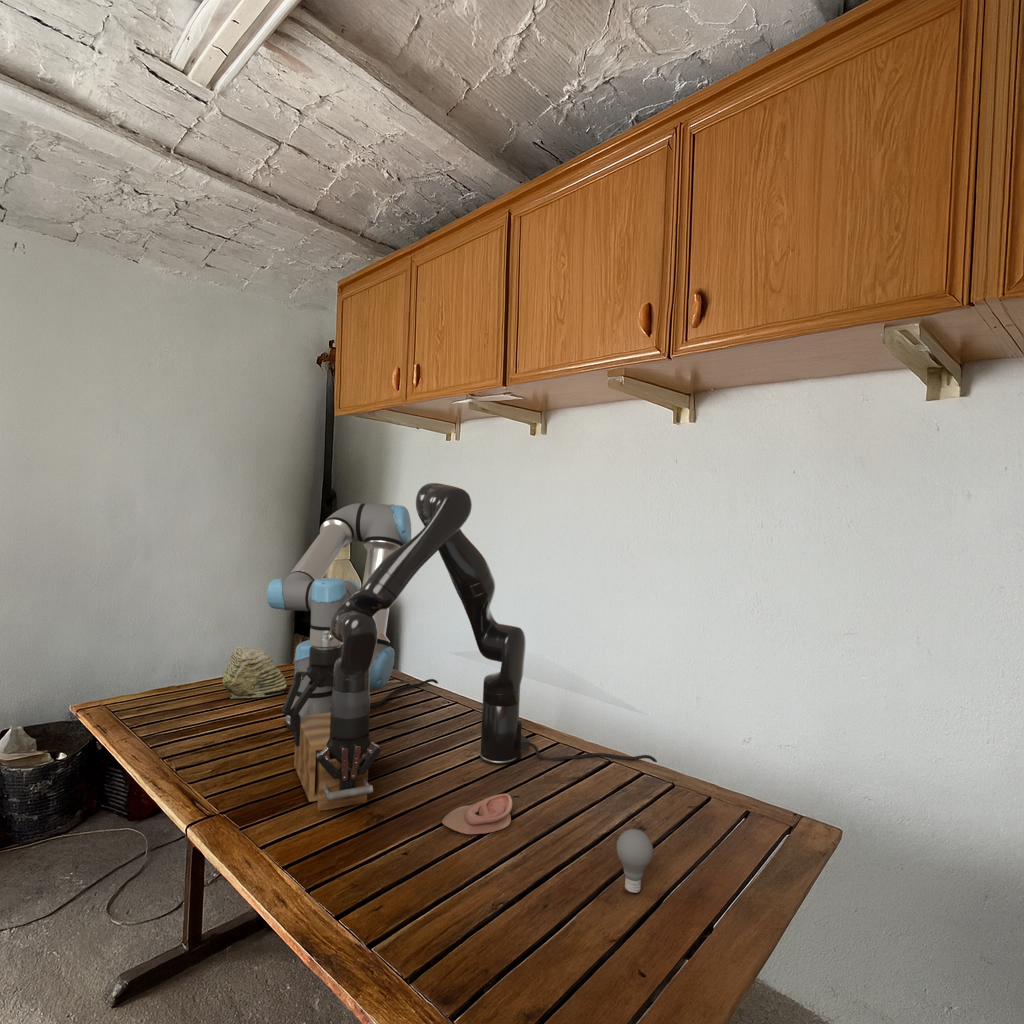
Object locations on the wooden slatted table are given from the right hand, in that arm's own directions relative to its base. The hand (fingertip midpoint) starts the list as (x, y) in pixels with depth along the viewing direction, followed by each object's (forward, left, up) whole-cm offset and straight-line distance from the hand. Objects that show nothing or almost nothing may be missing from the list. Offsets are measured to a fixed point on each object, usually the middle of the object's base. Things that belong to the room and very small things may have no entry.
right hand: (347, 796), depth 125 cm
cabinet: (+2, -19, -4) cm, 19 cm away
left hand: (+2, -24, +3) cm, 24 cm away
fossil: (+16, -85, -4) cm, 87 cm away
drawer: (+1, -9, -3) cm, 9 cm away
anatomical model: (-24, +9, -4) cm, 26 cm away
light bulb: (-41, +39, -4) cm, 57 cm away
